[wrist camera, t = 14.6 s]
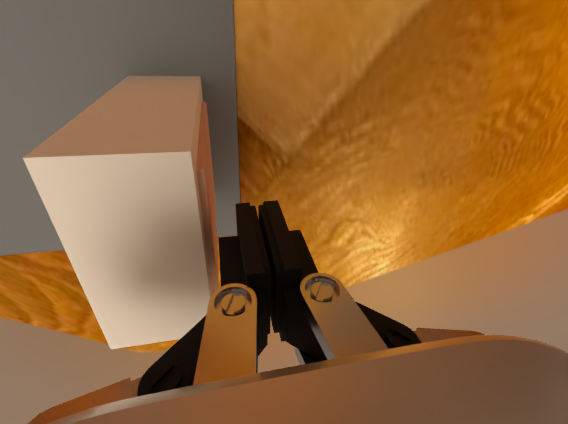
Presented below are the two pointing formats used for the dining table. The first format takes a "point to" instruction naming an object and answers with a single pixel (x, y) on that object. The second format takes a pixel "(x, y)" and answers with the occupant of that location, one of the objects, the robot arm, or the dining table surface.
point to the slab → (136, 206)
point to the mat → (105, 88)
